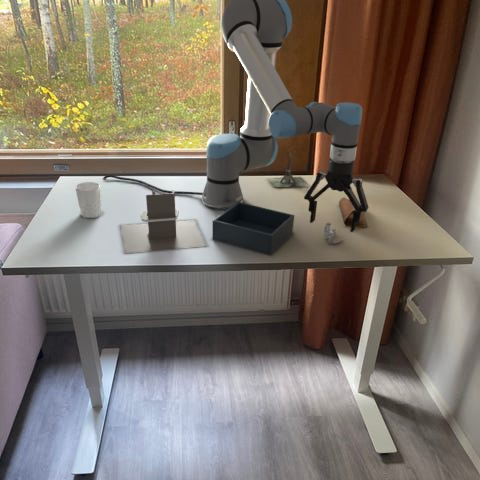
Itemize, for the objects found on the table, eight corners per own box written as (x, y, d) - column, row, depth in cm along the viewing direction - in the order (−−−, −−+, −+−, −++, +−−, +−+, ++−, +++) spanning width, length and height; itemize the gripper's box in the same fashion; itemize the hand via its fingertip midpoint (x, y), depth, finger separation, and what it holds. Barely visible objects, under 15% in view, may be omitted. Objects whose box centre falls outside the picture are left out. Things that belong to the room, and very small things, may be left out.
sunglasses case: (368, 226, 173) (361, 210, 170) (349, 235, 175) (342, 219, 172) (360, 205, 188) (354, 190, 184) (343, 214, 190) (336, 199, 187)
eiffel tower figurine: (300, 177, 211) (304, 145, 203) (309, 186, 203) (313, 153, 195) (266, 179, 208) (268, 146, 200) (273, 188, 200) (276, 154, 192)
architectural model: (120, 225, 168) (115, 183, 159) (194, 219, 174) (193, 178, 165) (125, 253, 152) (120, 207, 144) (206, 246, 158) (206, 201, 150)
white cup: (107, 212, 176) (104, 184, 170) (93, 220, 170) (89, 192, 164) (89, 207, 179) (85, 180, 173) (74, 215, 173) (70, 187, 167)
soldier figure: (341, 236, 170) (347, 241, 158) (329, 245, 171) (334, 251, 159) (326, 218, 168) (331, 222, 157) (315, 228, 169) (319, 232, 158)
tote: (212, 239, 162) (212, 220, 158) (237, 219, 175) (238, 201, 171) (270, 255, 155) (272, 235, 151) (292, 233, 168) (294, 215, 164)
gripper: (298, 155, 151) (291, 221, 164) (380, 170, 142) (367, 238, 155) (307, 149, 157) (300, 213, 169) (386, 163, 148) (373, 229, 160)
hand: (332, 225), depth 162 cm, fingers open, 13 cm apart
